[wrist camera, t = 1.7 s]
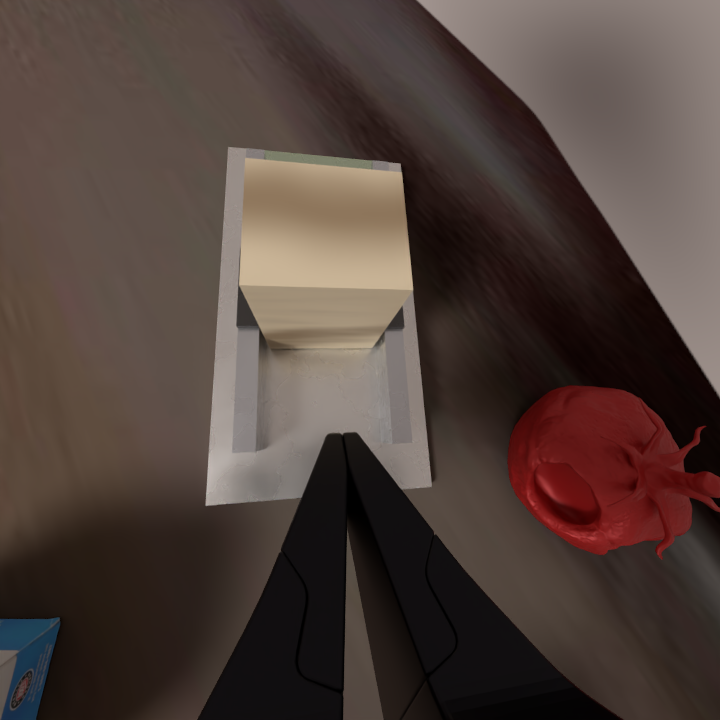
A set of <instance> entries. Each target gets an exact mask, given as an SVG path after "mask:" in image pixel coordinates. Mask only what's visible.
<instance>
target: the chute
mask: <svg viewBox="0 0 720 720" xmlns="http://www.w3.org/2000/svg"><path fill="white" fill-rule="evenodd" d="M245 158H252V159H263V160H274V161H284V162H295V163H306V164H317V165H328V166H339V167H349V168H360V169H371V170H382V171H393V172H401V164H398V163H388V162H383V161H373V160H372V161H368V160H358V159H348V158H338V157H327V156H317V155H307V154H296V153H286V152H276V151H265V150H259V149H249V148H246V149H243V148H233V147H228V162H227V178H226V193H225V209H224V225H223V241H222V256H221V272H220V288H219V304H218V319H217V335H216V351H215V367H214V382H213V398H212V414H211V430H210V445H209V461H208V477H207V493H206V506H208V505H219V504H231V503H243V502H255V501H267V500H279V499H291V498H301V497H302V495H303V492H304V490H305V487H306V485H307V482H308V480H309V477H310V475H311V472H312V470H313V467H314V465H315V462H316V460H317V457H318V455H319V452H320V450H321V447H322V445H323V442H324V440H325V437H326V435H327V434H328V433H341V434H343V433H345V432H357V433H358V434H359V435H360V437H361V438H362V439H363V441H364V442H365V443H366V444H367V446H368V447H369V448H370V450H371V451H372V452H373V453H374V455H375V456H376V457H377V459H378V460H379V461H380V463H381V464H382V465H383V466H384V468H385V469H386V470H387V472H388V473H389V474H390V475H391V477H392V478H393V479H394V481H395V482H396V483H397V485H398V486H399V487H400V488H401V489H410V488H422V487H432V483H431V473H430V462H429V452H428V442H427V431H426V421H425V411H424V401H423V390H422V380H421V370H420V359H419V349H418V339H417V329H416V318H415V308H414V298H413V291H412V293H411V294H410V295H409V297H408V298H407V300H406V301H405V302H404V304H403V305H402V307H401V308H400V310H399V311H398V312H397V314H396V315H395V317H394V318H393V319H392V321H391V322H390V324H389V325H388V326H387V328H386V329H385V331H384V332H383V334H382V335H381V336H380V338H379V339H378V341H377V342H376V343H375V345H374V346H373V348H297V349H270V348H269V345H268V343H267V341H266V339H265V337H264V335H263V333H262V331H261V329H260V327H259V325H258V323H257V321H256V319H255V317H254V315H253V313H252V311H251V309H250V307H249V304H248V302H247V300H246V298H245V296H244V294H243V292H242V290H241V288H240V286H239V277H240V256H241V235H242V214H243V193H244V172H245Z"/></svg>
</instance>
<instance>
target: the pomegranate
mask: <svg viewBox="0 0 720 720" xmlns="http://www.w3.org/2000/svg"><path fill="white" fill-rule="evenodd" d="M704 427H706V426H702V427H698V428H697V429H696V430H695V434H694V439H693V441H692V442H691V443H689V444H688V445H686V446H685V447H683V448H682V449H680V450H679V447H678V445H677V444H676V443H675V441H674V440H673V438H672V436H671V433H670V432H669V431H668V429H667V428H666V426H665V424H664V422H663V420H662V419H661V418H660V417H659V416H658V415H657V414H656V413H655V412H654V411H653V410H652V409H650V408H649V407H648V406H647V405H646V404H645V403H644V402H643V401H642V400H641V398H638V397H636V396H634V395H633V394H631V393H629V392H626V391H624V390H619V389H614V388H602V387H594V386H573V385H569V386H566V387H560V388H557V389H554V390H552V391H550V392H548V393H547V394H545V395H544V396H543V397H542V398H540V399H539V400H538V401H537V402H535V403H534V404H533V405H532V406H531V407H530V408H529V409H528V410H527V411H526V412H525V413H524V414H523V416H522V417H521V418H520V420H519V421H518V423H517V424H516V425H515V427H514V429H513V432H512V434H511V437H510V442H509V449H508V470H509V478H510V482H511V485H512V487H513V489H514V492H515V494H516V495H517V497H518V498H519V499H520V501H521V502H522V503H523V504H524V505H525V506H526V508H527V509H528V510H529V511H530V512H531V514H532V515H533V516H534V517H535V518H536V519H537V520H538V521H540V522H541V523H542V524H543V525H545V526H546V527H547V528H548V529H550V530H551V531H552V532H554V533H556V534H557V535H558V536H560V537H562V538H563V539H564V540H566V541H567V542H569V543H570V544H572V545H573V546H575V547H577V548H580V549H583V550H585V551H589V552H591V553H594V554H600V555H603V554H606V553H607V551H608V550H611V549H615V548H618V547H619V546H622V545H623V546H625V545H633V544H636V543H639V542H641V541H645V540H647V541H651V540H662V539H663V540H662V542H661V543H659V544H658V546H657V547H656V549H655V551H656V553H657V555H658V556H659V557H660V558H661V559H663V558H662V555H661V553H662V551H663V550H664V549H666V548H667V547H669V546H670V545H671V544H672V543H673V542H674V538H675V536H681V535H683V534H685V533H686V531H687V530H689V528H690V526H691V524H692V518H691V516H692V506H691V503H690V500H689V497H691V498H694V499H697V500H699V501H702V502H703V503H705V504H706V505H707V506H709V507H710V508H712V509H713V510H715V511H718V512H720V508H719V507H718V506H717V505H716V504H715V503H714V501H713V500H712V499H711V498H710V497H716V498H719V497H720V477H718V476H716V475H714V474H712V473H710V472H706V471H703V472H699V473H697V474H692V473H685V471H684V465H683V459H684V458H685V456H686V454H687V453H688V451H689V450H690V449H691V448H692V447H693V446H695V445H697V444H699V442H700V431H701V430H702V429H703V428H704Z"/></svg>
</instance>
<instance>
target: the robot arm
mask: <svg viewBox="0 0 720 720" xmlns="http://www.w3.org/2000/svg"><path fill="white" fill-rule="evenodd" d="M347 529H348V534H349V539H350V545H351V550H352V555H353V560H354V566H355V571H356V576H357V581H358V587H359V592H360V597H361V602H362V608H363V613H364V618H365V623H366V629H367V634H368V639H369V644H370V650H371V655H372V660H373V665H374V670H375V676H376V681H377V686H378V691H379V697H380V702H381V707H382V712H383V718H384V720H623V719H622V718H620V717H619V716H617V715H616V714H614V713H613V712H611V711H610V710H608V709H607V708H605V707H604V706H602V705H601V704H599V703H598V702H597V701H595V700H594V699H592V698H591V697H589V696H588V695H587V694H585V693H584V692H583V691H582V690H580V689H579V688H578V687H576V686H575V685H574V684H573V683H572V682H571V681H569V680H568V679H567V678H566V677H565V676H564V675H563V674H561V673H560V672H559V671H558V670H557V669H556V668H555V667H554V666H553V665H552V664H551V663H550V662H549V661H548V660H547V659H546V658H545V657H544V656H543V655H542V654H541V653H540V652H539V650H538V649H537V648H536V647H535V646H534V645H533V644H532V643H531V642H530V641H529V640H528V639H527V638H526V637H525V635H524V634H523V633H522V632H521V631H520V630H519V629H518V628H517V627H516V626H515V625H514V624H513V623H512V621H511V620H510V619H509V618H508V617H507V616H506V615H505V614H504V613H503V612H502V611H501V610H500V609H499V608H498V606H497V605H496V604H495V603H494V602H493V601H492V600H491V599H490V598H489V597H488V596H487V595H486V594H485V592H484V591H483V590H482V589H481V588H480V587H479V586H478V585H477V583H476V582H475V581H474V580H473V579H472V578H471V577H470V576H469V575H468V573H467V572H466V571H465V570H464V569H463V568H462V566H461V565H460V564H459V563H458V561H457V560H456V559H455V558H454V557H453V555H452V554H451V553H450V552H449V550H448V549H447V548H446V547H445V545H444V544H443V543H442V541H441V540H440V539H439V537H438V536H437V535H434V531H433V530H432V529H431V527H430V526H429V525H428V523H427V522H426V521H425V519H424V518H423V517H422V516H421V514H420V513H419V512H418V510H417V509H416V508H415V507H414V505H413V504H412V503H411V501H410V500H409V499H408V497H407V496H406V495H405V494H404V492H403V491H402V490H401V488H400V487H399V486H398V485H397V483H396V482H395V481H394V479H393V478H392V477H391V475H390V474H389V473H388V472H387V470H386V469H385V468H384V466H383V465H382V464H381V463H380V461H379V460H378V459H377V457H376V456H375V455H374V453H373V452H372V451H371V450H370V448H369V447H368V446H367V444H366V443H365V442H364V441H363V439H362V438H361V437H360V435H359V434H358V433H357V432H345V433H343V434H341V433H328V434H327V435H326V437H325V440H324V442H323V445H322V447H321V450H320V452H319V455H318V457H317V460H316V462H315V465H314V467H313V470H312V472H311V475H310V477H309V480H308V482H307V485H306V487H305V490H304V492H303V495H302V497H301V500H300V502H299V505H298V507H297V510H296V512H295V515H294V517H293V520H292V522H291V525H290V527H289V530H288V532H287V535H286V537H285V540H284V542H283V545H282V547H281V552H280V553H279V554H278V557H277V559H276V562H275V564H274V567H273V569H272V572H271V574H270V576H269V579H268V581H267V583H266V586H265V588H264V590H263V593H262V595H261V597H260V599H259V601H258V603H257V605H256V607H255V609H254V611H253V614H252V616H251V618H250V620H249V622H248V624H247V626H246V628H245V630H244V632H243V634H242V636H241V637H240V639H239V641H238V643H237V645H236V647H235V649H234V651H233V653H232V655H231V656H230V658H229V660H228V662H227V664H226V666H225V668H224V670H223V672H222V674H221V675H220V677H219V679H218V681H217V683H216V685H215V687H214V689H213V691H212V693H211V695H210V696H209V698H208V700H207V702H206V704H205V706H204V708H203V710H202V712H201V714H200V715H199V717H198V719H197V720H343V690H344V648H345V600H346V552H347ZM433 535H434V536H433Z"/></svg>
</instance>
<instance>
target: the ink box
mask: <svg viewBox="0 0 720 720" xmlns="http://www.w3.org/2000/svg"><path fill="white" fill-rule="evenodd" d="M59 627H60V617H57V618H52V619H0V720H36V717H37V713H38V708H39V705H40V700H41V697H42V693H43V689H44V685H45V681H46V677H47V673H48V669H49V664H50V660H51V657H52V653H53V649H54V645H55V642H56V638H57V633H58V630H59Z"/></svg>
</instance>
